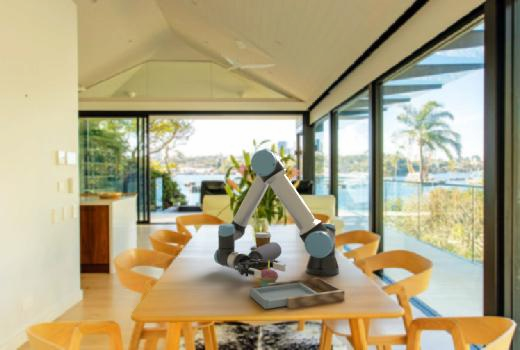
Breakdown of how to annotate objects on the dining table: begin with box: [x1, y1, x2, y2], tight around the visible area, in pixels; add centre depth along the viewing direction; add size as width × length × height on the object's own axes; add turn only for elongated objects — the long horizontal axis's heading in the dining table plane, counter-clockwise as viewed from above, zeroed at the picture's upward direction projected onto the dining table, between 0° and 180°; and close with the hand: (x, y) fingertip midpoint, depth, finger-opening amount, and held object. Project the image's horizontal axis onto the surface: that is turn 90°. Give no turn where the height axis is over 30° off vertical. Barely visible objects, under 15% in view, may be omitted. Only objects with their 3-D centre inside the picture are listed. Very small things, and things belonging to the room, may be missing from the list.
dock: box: [267, 276, 345, 309], centre depth 148 cm, size 24×19×4 cm
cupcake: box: [257, 261, 279, 287], centre depth 160 cm, size 9×8×12 cm
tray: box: [249, 283, 318, 310], centre depth 145 cm, size 22×15×3 cm
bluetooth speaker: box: [247, 241, 282, 267], centre depth 195 cm, size 23×9×10 cm, turn 154°
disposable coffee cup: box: [254, 231, 272, 248], centre depth 219 cm, size 10×10×12 cm
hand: (272, 271), depth 157 cm, fingers open, 13 cm apart
